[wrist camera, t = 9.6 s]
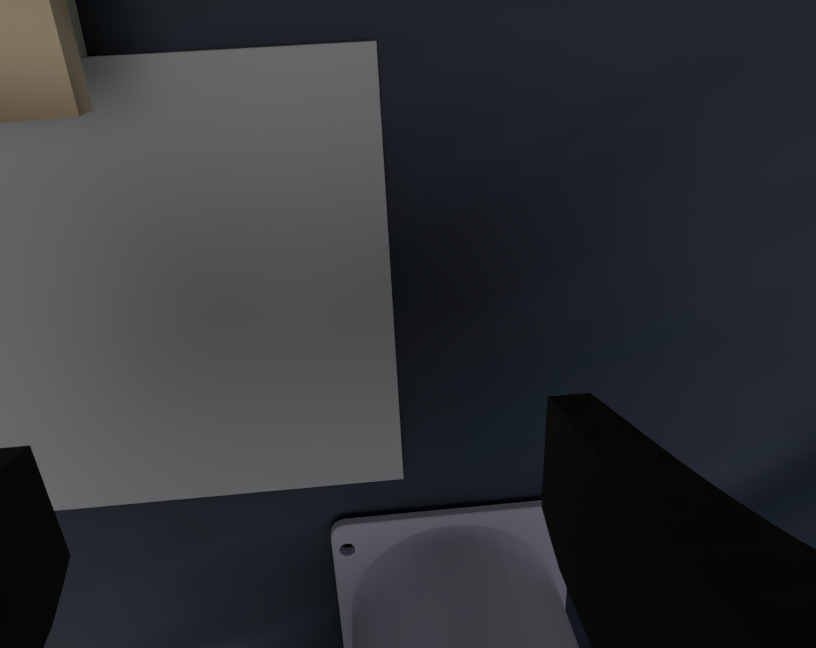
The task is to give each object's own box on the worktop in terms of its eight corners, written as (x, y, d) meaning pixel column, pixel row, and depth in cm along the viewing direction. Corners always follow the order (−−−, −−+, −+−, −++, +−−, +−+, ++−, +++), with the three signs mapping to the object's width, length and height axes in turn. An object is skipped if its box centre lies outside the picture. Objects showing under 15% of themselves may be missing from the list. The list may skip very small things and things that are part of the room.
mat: (402, 471, 23) (403, 478, 23) (-11, 508, 22) (-17, 517, 22) (375, 39, 17) (376, 40, 17) (-173, 70, 17) (-184, 72, 16)
